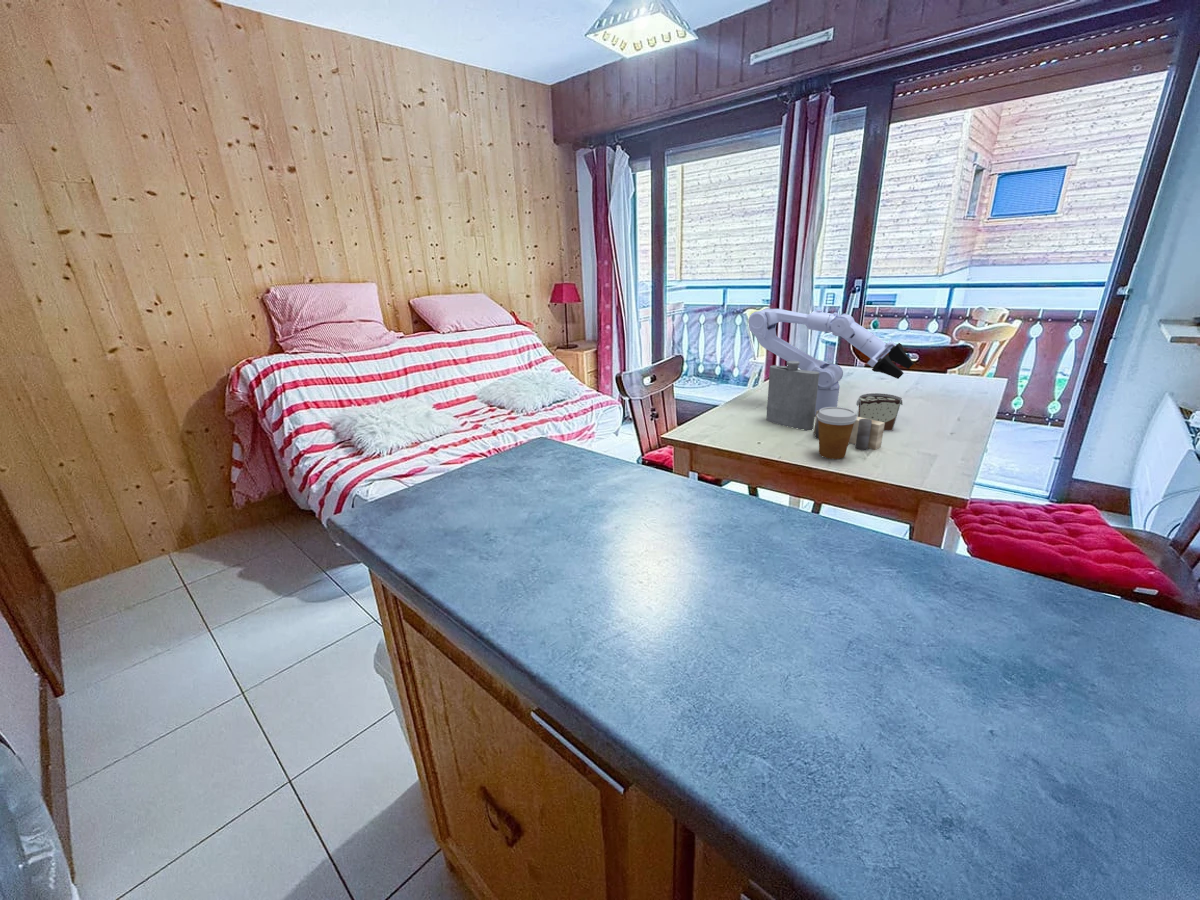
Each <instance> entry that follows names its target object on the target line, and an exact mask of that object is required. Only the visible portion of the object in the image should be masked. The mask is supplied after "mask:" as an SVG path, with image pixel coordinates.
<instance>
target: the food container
mask: <svg viewBox="0 0 1200 900" xmlns="http://www.w3.org/2000/svg"><path fill="white" fill-rule="evenodd" d="M855 405H856V406H857V407H858V415H857V417H862V418H866V419H871V420H875V421H880V422H885V425H884V431H883V432H893V431H894V427H895V424H896V420H897V416H898V413H899V410H900V406H903V400H902V397H901V396H898V395H893V394H889V393H876V392H875V393H872V392H871V393H865V394H861V395H860V396H859V397H858V398H857V400H856V403H855Z"/></svg>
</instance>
